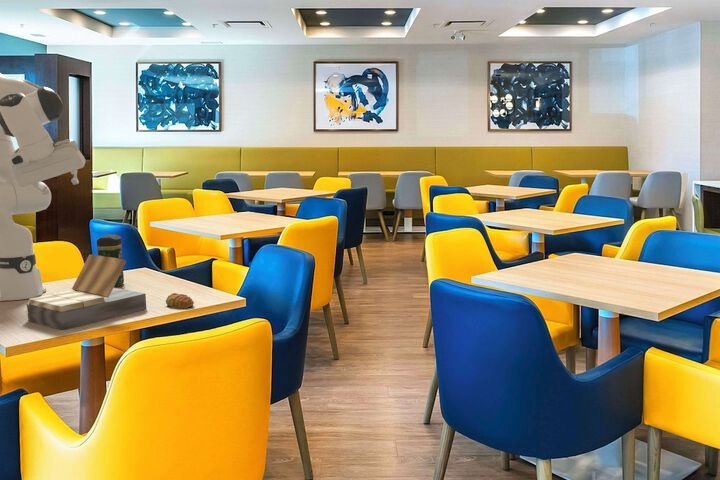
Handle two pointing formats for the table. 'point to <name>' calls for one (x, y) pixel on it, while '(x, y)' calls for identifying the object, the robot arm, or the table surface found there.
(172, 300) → the pastry
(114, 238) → the coffee jar
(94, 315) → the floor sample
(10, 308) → the table surface
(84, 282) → the plank
